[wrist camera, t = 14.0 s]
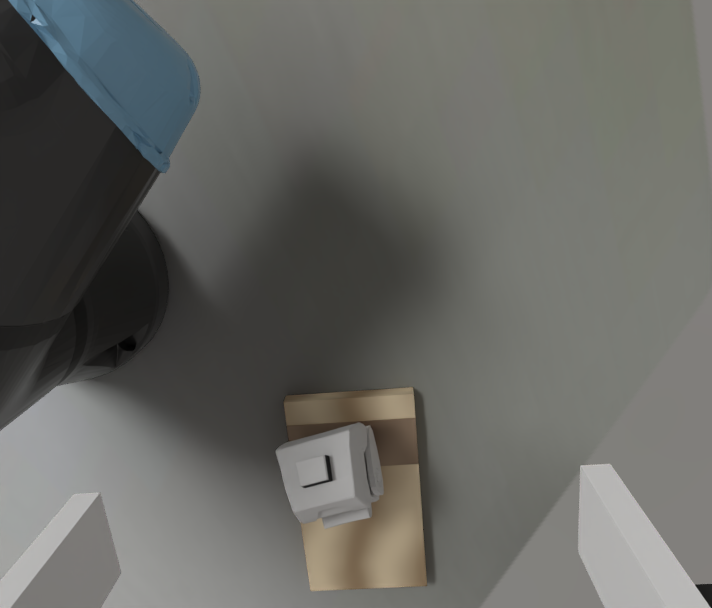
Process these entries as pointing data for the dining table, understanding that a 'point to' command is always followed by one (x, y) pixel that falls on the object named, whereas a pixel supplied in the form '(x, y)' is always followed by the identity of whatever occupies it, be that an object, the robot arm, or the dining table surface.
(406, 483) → the plywood panel
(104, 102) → the robot arm
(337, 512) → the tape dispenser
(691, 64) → the dining table surface
